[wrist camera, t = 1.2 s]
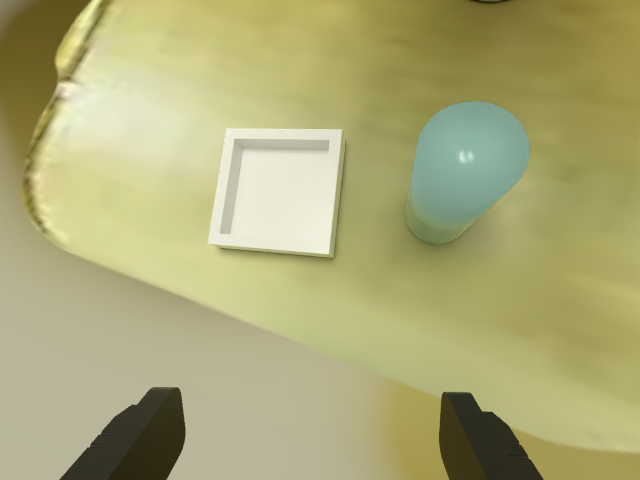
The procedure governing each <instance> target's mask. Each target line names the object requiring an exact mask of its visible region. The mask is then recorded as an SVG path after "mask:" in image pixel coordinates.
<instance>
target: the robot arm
mask: <svg viewBox="0 0 640 480" xmlns="http://www.w3.org/2000/svg"><path fill="white" fill-rule="evenodd" d="M480 1H501V0H480ZM184 441H185V422H184V414H183V406H182V398H181V392H180V389H179V388H177V387H176V388H174V387H170V388H169V387H153V388H151V389H150V390H149V391H148V392H147V393H146V395H145V396H144V397H143V398H142V399H141V401H140V402H139V403H138V404H137V405H131V406H130V407H128V408H127V409H126V410H124V411H123V412H121V413H120V414H118V415H117V416H115V417H114V418H113V419H112V420H111V422H110V423H109V424H108V425H107V426H106V427H105V428H104V430H103V431H102V433H101V435H98V437H96V439H95V440H94V441H93V442H92V443H91V446H90V448H87V449H86V450H85V451H84V452H83V453H82V455H81V456H80V457H79V458H78V459H77V460H76V461H75V463H74V464H73V465H72V466H71V467H70V468H69V469H68V471H67V472H66V473H65V474H64V475H63V476H62V478H61V479H60V480H166V479H167V478H168V476H169V474H170V472H171V470H172V468H173V467H174V465H175V463H176V461H177V459H178V457H179V455H180V454H181V451H182V449H183V445H184ZM439 444H440V451H441V456H442V459H443V463H444V466H445V469H446V472H447V474H448V477H449V480H543V478H542V476H541V475H540V473H539V472H538V470H537V469H536V467H535V466H534V464H533V463H532V461H531V460H530V459H528V455H527V454H526V452H525V450H524V449H523V447H522V446H521V445H519V441H518V440H517V438H516V437H515V435H514V434H513V432H512V430H511V429H510V427H509V426H508V425H507V424H506V423H505V422H503V421H502V420H501V419H500V418H499V417H497V416H496V415H495V414H494V413H493V412H482V411H481V409H480V407H479V406H478V404H477V402H476V401H475V399H474V397H473V396H472V394H471V393H469V392H443V394H442V399H441V415H440V430H439Z"/></svg>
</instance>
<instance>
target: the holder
mask: <svg viewBox="0 0 640 480" xmlns="http://www.w3.org/2000/svg"><path fill="white" fill-rule="evenodd" d="M345 144H346V142H345V138H344V134H343V131H342V129H226V133H225V140H224V146H223V152H222V158H221V164H220V170H219V176H218V182H217V189H216V195H215V201H214V207H213V213H212V219H211V225H210V232H209V238H208V244H210V245H213V246H216V247H219V248H226V249H237V250H248V251H260V252H271V253H282V254H294V255H305V256H317V257H328V258H334V250H335V240H336V230H337V221H338V211H339V202H340V192H341V182H342V173H343V163H344V154H345Z"/></svg>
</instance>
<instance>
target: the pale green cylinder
mask: <svg viewBox="0 0 640 480" xmlns="http://www.w3.org/2000/svg"><path fill="white" fill-rule="evenodd" d="M529 154H530V147H529V140H528V136H527V134H526V131H525V129H524V128H523V126H522V124H521V123H520V122H519V121H518V119H517V118H516V117H515V116H513V115H512V114H511V113H510V112H508V111H507V110H505V109H503V108H502V107H499V106H497V105H494V104H491V103H487V102H481V101H468V102H461V103H457V104H454V105H451V106H449V107H446V108H444V109H443V110H441V111H439V112H438V113H437V114H435V115H434V116H433V117H432V118H431V119H430V120H429V121H428V122H427V124H426V125H425V126H424V128H423V129H422V131H421V134H420V136H419V139H418V142H417V148H416V154H415V159H414V165H413V171H412V176H411V182H410V188H409V194H408V199H407V205H406V211H405V219H406V223H407V226H408V228H409V230H410V231H411V233H412V234H413V235H414V236H415V237H416V238H418V239H419V240H421V241H423V242H426V243H429V244H435V245H439V244H445V243H449V242H451V241H453V240H455V239H456V238H458V237H459V236H460V235H461V234H462V233H463V232H464V231H465V230H466V229H467V228H468V227H469V226H471V225H472V224H473V223H474V222H475V221H476V220H477V219H478V218H479V217H480V216H481V215H482V214H483V213H484V212H485V211H487V210H488V209H489V208H490V207H491V206H492V205H493V204H494V203H495V202H496V201H497V200H498V199H499V198H500V197H501V196H503V195H504V194H505V193H506V192H507V191H508V190H509V189H510V188H511V187H512V186H513V185H514V184H515V183H516V182H517V181H518V180H519V179H520V178H521V176H522V174H523V173H524V171H525V169H526V167H527V164H528V160H529Z"/></svg>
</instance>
